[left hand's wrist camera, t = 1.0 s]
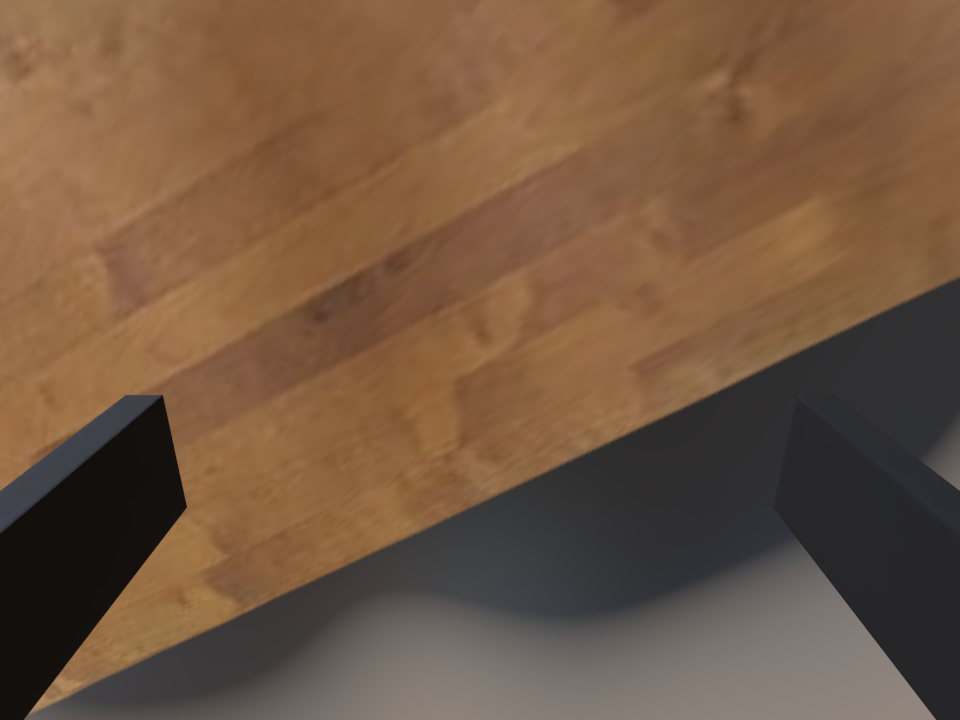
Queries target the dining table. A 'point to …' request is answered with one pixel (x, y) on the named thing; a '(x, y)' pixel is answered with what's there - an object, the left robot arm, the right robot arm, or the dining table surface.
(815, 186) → the dining table surface
